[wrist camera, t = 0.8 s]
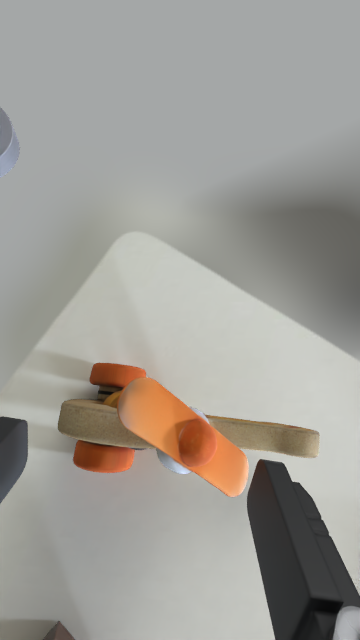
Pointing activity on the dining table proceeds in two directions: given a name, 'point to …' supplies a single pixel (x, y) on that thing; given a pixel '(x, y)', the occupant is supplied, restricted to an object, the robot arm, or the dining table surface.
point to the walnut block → (58, 633)
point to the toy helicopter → (169, 431)
